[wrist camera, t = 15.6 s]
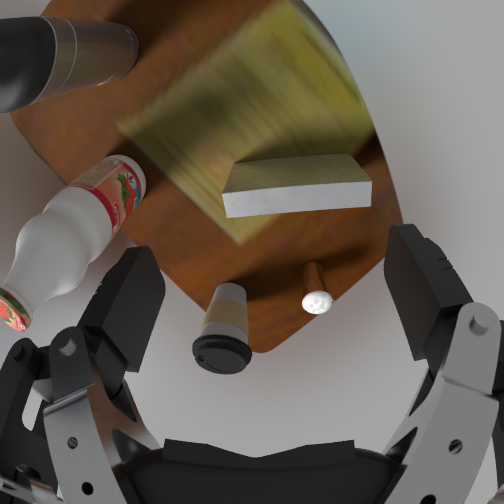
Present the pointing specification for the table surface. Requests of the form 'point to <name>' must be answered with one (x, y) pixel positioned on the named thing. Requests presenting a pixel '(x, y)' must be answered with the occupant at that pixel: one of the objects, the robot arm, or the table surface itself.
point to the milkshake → (315, 289)
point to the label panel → (296, 185)
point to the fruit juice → (69, 236)
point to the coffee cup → (224, 332)
